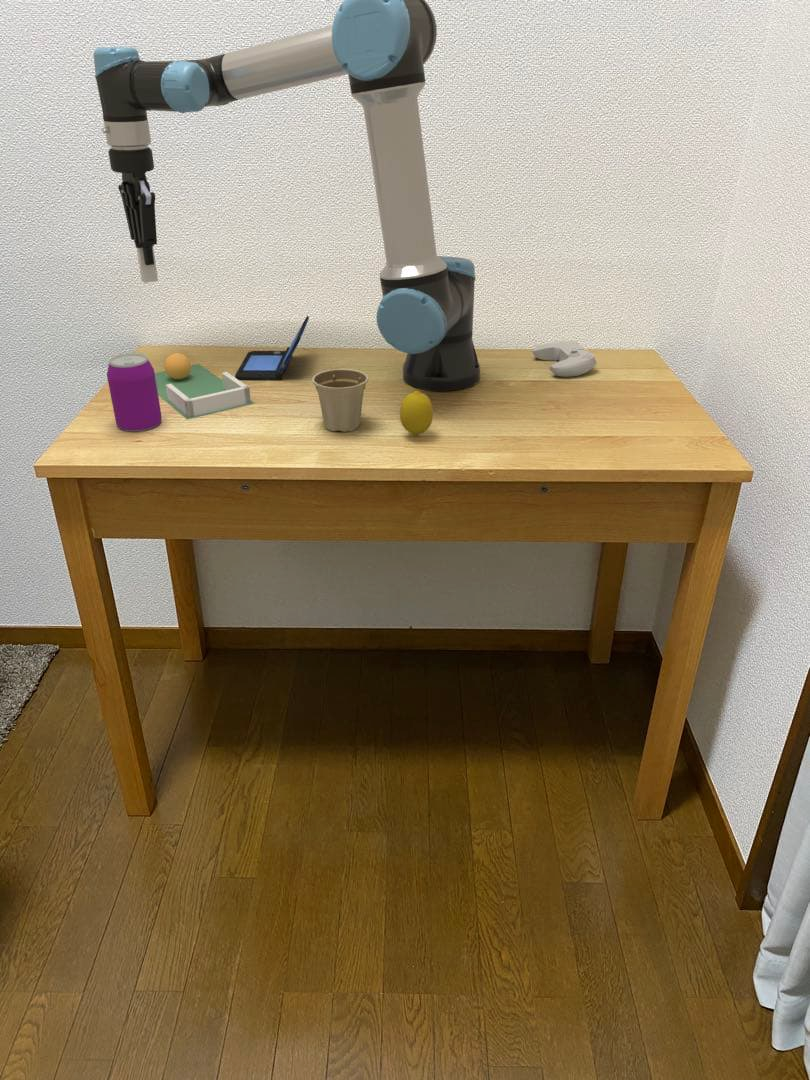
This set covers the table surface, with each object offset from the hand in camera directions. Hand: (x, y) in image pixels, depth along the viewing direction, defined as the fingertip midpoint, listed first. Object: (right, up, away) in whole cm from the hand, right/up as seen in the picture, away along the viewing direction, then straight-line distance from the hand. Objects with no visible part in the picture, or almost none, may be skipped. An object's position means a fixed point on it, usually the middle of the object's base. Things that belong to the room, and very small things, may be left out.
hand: (149, 280), depth 164 cm
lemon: (+51, -33, -20) cm, 64 cm away
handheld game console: (+23, -16, +9) cm, 29 cm away
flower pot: (+38, -30, -16) cm, 51 cm away
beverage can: (+3, -30, -16) cm, 34 cm away
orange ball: (+5, -16, +2) cm, 17 cm away
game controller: (+82, -15, +10) cm, 84 cm away
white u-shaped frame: (+13, -24, -7) cm, 28 cm away
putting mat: (+9, -22, -2) cm, 24 cm away
